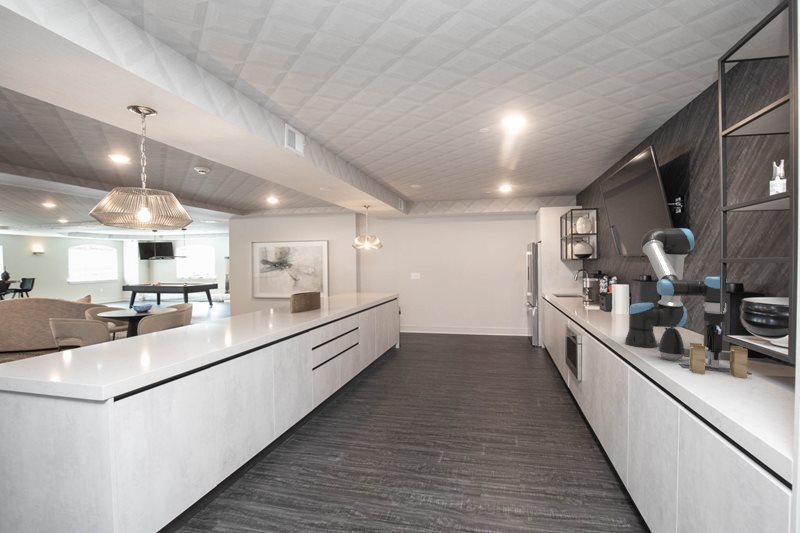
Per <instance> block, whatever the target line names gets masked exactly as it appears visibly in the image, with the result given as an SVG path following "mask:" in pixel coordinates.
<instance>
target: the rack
mask: <svg viewBox="0 0 800 533" xmlns="http://www.w3.org/2000/svg"><path fill="white" fill-rule="evenodd" d="M689 348H690V357H689V364H690V365H689V371H691V373H693V374H701V375H702V374H703V375H705V374H706V373H705V372H706V370H705V366H706V359H705V349H706V345H703V344H702V343H700V342H698V343H697V342H690V343H689ZM729 351H730V361H729V368H730V371H729V372H728V373H729V374H730V375H732V376H733V377H734V378H744V379H747V378H748V374H747V371H748V352H749V351H748V348H744V347H743V346H740V345H739V346H738V345H729Z"/></svg>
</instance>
